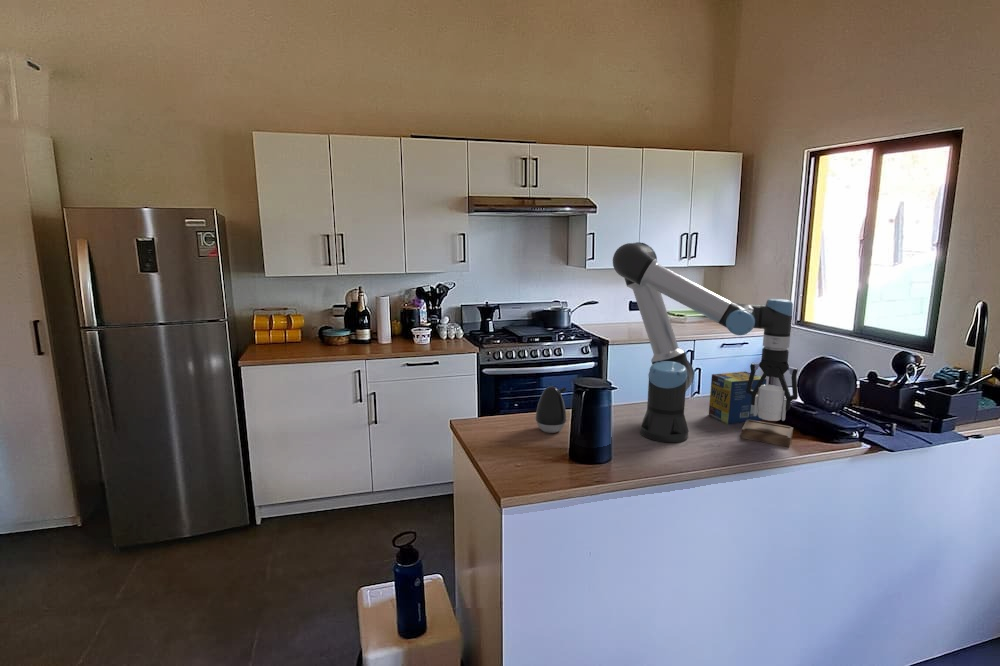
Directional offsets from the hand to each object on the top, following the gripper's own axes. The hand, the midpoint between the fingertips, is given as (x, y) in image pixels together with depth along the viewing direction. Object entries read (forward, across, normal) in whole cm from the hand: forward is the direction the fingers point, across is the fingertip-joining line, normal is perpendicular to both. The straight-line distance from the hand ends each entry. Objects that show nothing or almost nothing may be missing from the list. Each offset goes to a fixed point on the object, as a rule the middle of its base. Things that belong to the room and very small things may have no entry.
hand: (769, 417), depth 177 cm
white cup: (0, 0, 0) cm, 0 cm away
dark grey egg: (+7, -62, -33) cm, 71 cm away
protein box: (+7, -12, +15) cm, 21 cm away
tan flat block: (+7, 0, 0) cm, 7 cm away
